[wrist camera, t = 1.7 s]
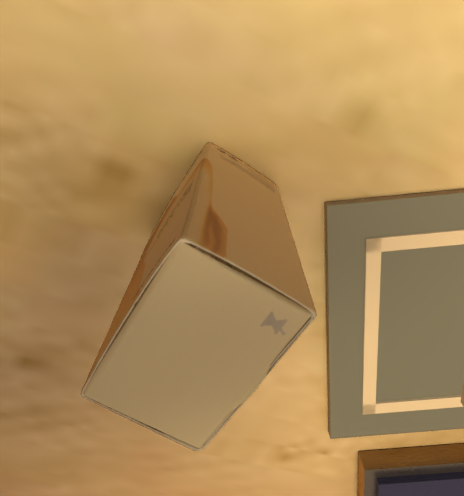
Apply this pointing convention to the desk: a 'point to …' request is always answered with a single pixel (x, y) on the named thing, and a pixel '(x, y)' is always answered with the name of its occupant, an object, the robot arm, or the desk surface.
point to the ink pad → (412, 471)
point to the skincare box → (204, 306)
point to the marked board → (395, 313)
